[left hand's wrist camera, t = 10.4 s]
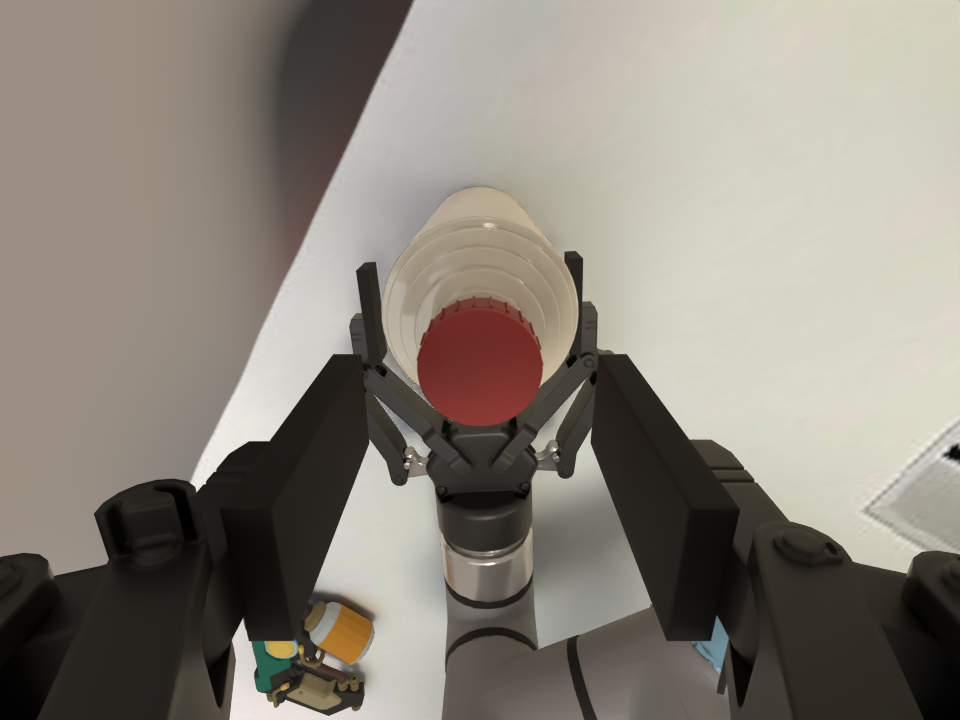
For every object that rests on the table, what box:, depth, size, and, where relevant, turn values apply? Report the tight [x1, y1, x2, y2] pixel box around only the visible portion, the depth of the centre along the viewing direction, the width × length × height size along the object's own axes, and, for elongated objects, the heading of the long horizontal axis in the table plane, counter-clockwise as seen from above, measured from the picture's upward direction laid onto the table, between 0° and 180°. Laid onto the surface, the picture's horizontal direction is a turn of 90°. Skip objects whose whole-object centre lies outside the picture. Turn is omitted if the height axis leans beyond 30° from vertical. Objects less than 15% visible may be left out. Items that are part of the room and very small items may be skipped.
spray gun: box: [243, 602, 375, 716], centre depth 54 cm, size 4×17×15 cm
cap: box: [416, 296, 544, 426], centre depth 17 cm, size 4×4×2 cm
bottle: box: [381, 187, 578, 386], centre depth 28 cm, size 8×8×25 cm
